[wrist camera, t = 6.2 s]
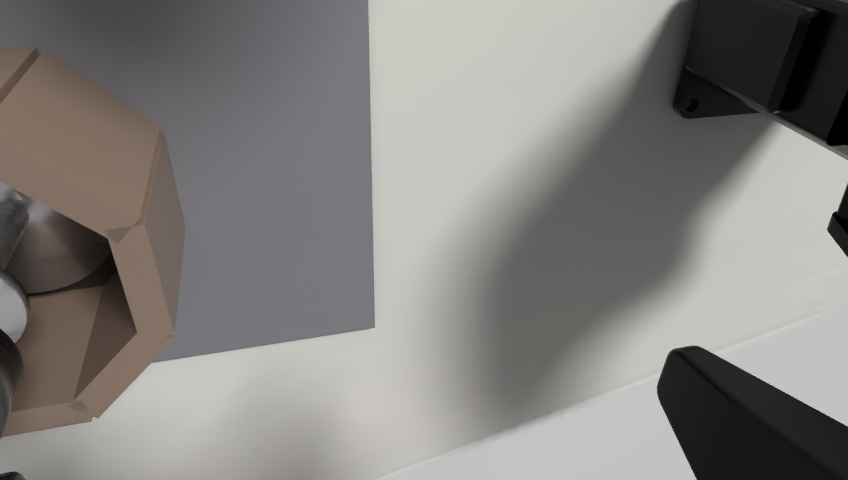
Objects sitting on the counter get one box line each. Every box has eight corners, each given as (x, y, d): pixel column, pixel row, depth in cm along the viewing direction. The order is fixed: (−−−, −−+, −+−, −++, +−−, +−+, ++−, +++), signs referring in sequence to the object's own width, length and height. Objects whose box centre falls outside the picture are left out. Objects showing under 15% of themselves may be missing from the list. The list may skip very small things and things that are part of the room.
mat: (364, -86, 16) (366, -84, 15) (373, 322, 24) (374, 327, 23) (-719, -89, 11) (-738, -86, 11) (-259, 420, 19) (-266, 427, 19)
